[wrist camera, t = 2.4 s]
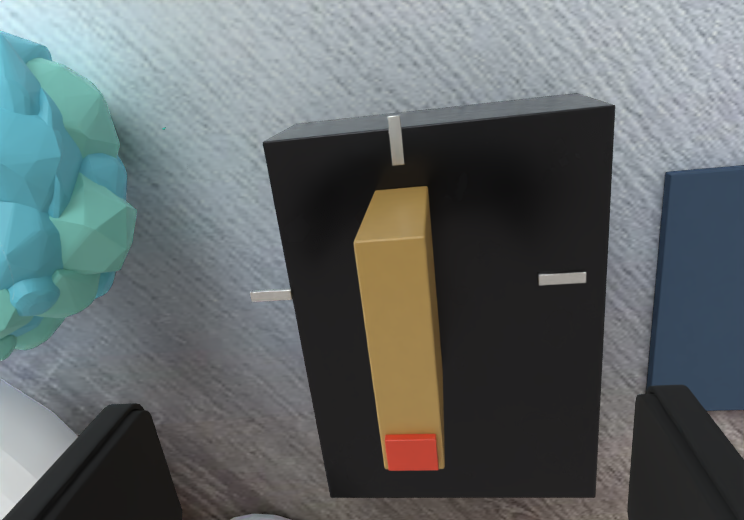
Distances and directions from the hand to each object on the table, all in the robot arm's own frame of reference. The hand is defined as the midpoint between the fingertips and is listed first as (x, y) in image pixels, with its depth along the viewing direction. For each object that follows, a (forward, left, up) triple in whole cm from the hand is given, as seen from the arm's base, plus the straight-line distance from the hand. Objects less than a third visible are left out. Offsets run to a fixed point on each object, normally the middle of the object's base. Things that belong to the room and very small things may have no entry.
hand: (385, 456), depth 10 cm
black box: (+2, +1, -11) cm, 12 cm away
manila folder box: (0, 0, -7) cm, 7 cm away
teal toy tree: (-4, -14, -11) cm, 18 cm away
